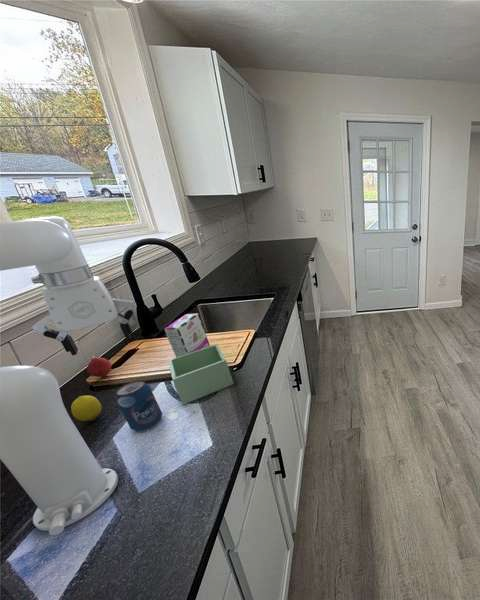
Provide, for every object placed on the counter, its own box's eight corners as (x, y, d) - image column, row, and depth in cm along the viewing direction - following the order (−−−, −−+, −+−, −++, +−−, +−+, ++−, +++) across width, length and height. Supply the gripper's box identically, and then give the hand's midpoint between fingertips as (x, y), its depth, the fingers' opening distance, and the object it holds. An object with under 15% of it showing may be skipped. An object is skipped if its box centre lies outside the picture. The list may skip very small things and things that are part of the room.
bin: (233, 384, 97) (225, 360, 94) (182, 404, 90) (172, 379, 86) (224, 365, 107) (216, 343, 104) (177, 383, 100) (168, 359, 96)
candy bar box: (200, 353, 116) (185, 313, 110) (213, 352, 116) (199, 312, 110) (180, 371, 106) (162, 328, 100) (194, 370, 106) (178, 327, 99)
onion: (117, 374, 107) (107, 354, 104) (96, 383, 102) (85, 363, 99) (111, 369, 110) (101, 350, 107) (90, 378, 105) (79, 358, 102)
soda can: (146, 435, 80) (127, 397, 75) (125, 431, 81) (105, 394, 77) (170, 415, 86) (154, 379, 81) (150, 412, 87) (133, 377, 83)
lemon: (90, 428, 83) (76, 404, 80) (74, 426, 84) (59, 402, 81) (111, 413, 88) (99, 390, 85) (96, 411, 89) (83, 389, 86)
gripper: (3, 292, 60) (49, 366, 66) (119, 270, 70) (148, 337, 76) (13, 283, 65) (54, 353, 72) (119, 264, 75) (146, 327, 82)
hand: (102, 344), depth 74 cm, fingers open, 9 cm apart
